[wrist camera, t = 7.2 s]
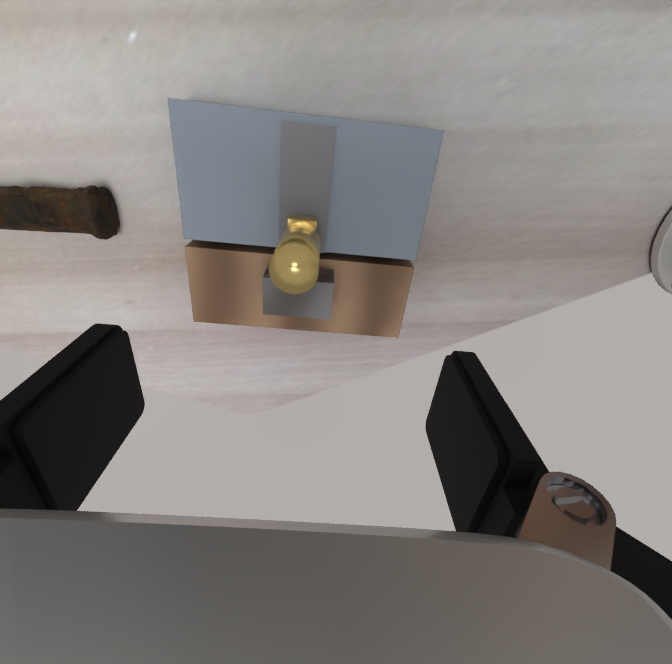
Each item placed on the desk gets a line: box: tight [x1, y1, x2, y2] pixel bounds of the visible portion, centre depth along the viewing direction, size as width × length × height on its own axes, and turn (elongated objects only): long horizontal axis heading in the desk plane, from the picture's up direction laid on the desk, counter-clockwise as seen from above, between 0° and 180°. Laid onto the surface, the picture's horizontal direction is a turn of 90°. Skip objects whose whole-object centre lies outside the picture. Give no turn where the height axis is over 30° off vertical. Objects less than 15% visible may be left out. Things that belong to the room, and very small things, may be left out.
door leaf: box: [168, 98, 444, 260], centre depth 27 cm, size 18×9×4 cm, turn 84°
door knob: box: [269, 215, 321, 294], centre depth 24 cm, size 3×7×7 cm, turn 174°
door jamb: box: [185, 240, 414, 338], centre depth 30 cm, size 18×7×7 cm, turn 84°
